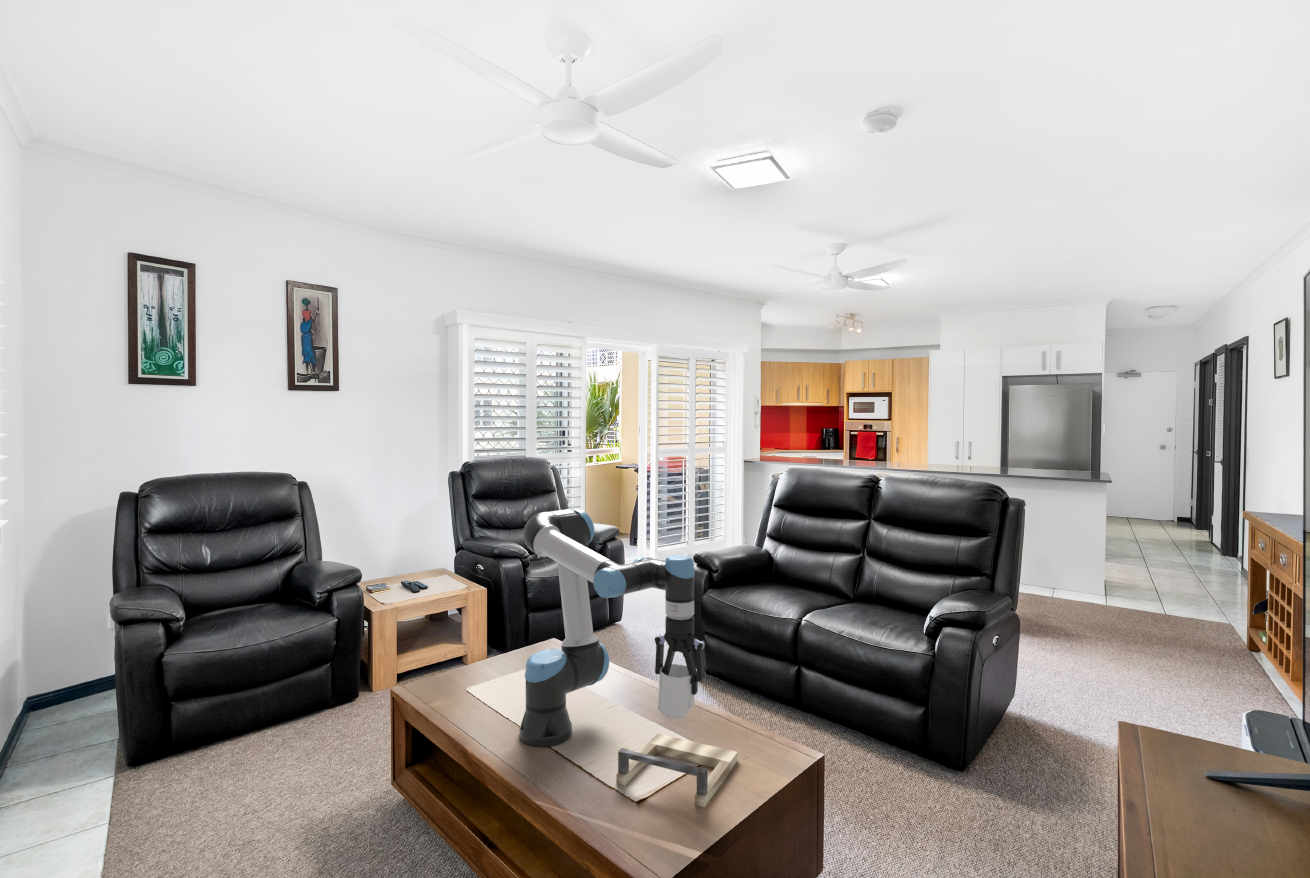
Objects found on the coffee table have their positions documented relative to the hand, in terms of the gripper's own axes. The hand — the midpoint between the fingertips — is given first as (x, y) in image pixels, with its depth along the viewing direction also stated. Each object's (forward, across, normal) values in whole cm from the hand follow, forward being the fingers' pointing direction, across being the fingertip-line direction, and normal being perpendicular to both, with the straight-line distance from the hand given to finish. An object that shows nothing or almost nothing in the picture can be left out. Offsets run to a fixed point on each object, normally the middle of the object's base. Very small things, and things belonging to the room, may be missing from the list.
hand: (679, 703), depth 169 cm
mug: (+3, -1, +1) cm, 3 cm away
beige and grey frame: (+18, 0, -1) cm, 18 cm away
